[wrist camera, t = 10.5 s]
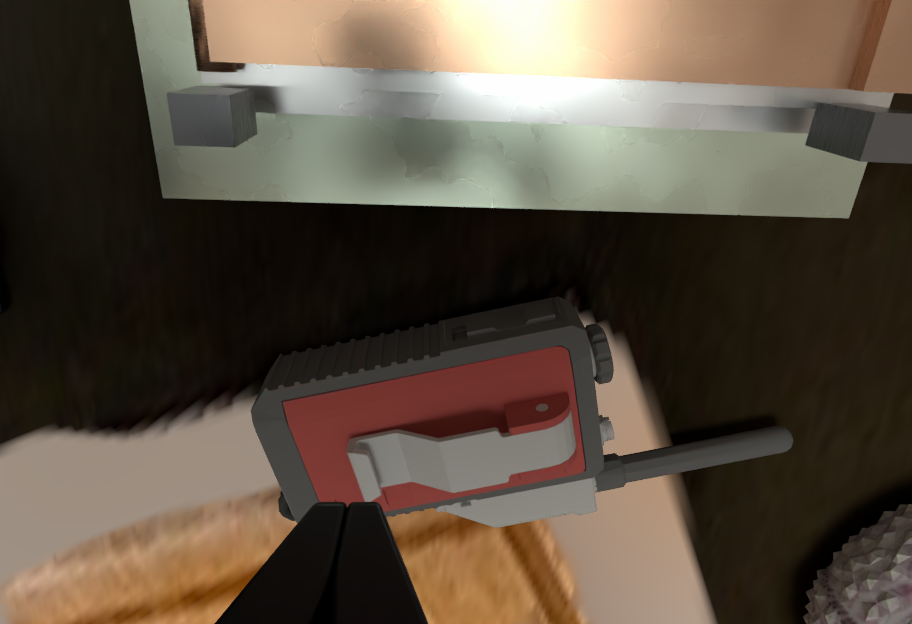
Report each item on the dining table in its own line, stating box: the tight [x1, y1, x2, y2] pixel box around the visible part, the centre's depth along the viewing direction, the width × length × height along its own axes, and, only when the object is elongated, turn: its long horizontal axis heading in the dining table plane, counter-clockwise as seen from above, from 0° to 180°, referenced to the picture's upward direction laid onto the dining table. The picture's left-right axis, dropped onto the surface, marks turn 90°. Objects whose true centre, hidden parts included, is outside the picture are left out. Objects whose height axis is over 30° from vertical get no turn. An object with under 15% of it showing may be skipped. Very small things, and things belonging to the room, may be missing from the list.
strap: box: [188, 0, 912, 94], centre depth 12 cm, size 15×3×1 cm, turn 87°
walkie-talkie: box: [251, 296, 793, 527], centre depth 21 cm, size 9×4×20 cm
